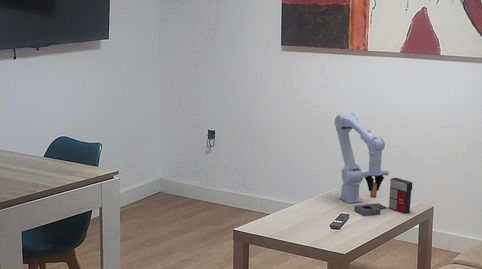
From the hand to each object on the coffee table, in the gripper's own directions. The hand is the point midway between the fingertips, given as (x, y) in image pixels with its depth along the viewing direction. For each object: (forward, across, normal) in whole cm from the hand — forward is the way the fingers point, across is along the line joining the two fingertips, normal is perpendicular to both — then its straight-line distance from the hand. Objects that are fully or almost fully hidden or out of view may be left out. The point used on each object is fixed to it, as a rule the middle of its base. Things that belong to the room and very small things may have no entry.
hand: (373, 190), depth 376 cm
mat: (+9, +3, +2) cm, 10 cm away
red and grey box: (+10, +12, -6) cm, 16 cm away
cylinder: (+3, 0, 0) cm, 3 cm away
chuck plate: (+9, -6, -4) cm, 12 cm away
